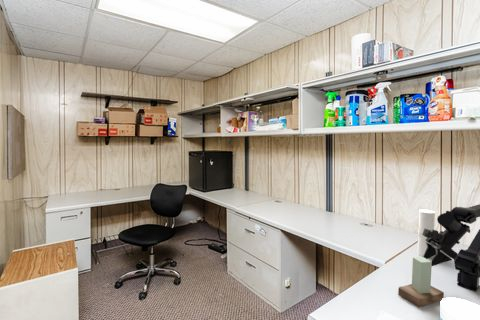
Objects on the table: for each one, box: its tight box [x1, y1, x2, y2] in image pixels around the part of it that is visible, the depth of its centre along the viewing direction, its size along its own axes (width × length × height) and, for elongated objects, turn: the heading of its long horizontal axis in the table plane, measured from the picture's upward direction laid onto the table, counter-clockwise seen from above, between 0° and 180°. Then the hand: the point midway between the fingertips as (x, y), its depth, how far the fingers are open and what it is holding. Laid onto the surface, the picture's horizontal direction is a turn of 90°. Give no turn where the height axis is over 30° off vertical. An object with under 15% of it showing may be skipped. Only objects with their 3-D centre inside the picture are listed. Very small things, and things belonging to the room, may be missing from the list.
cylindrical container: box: [416, 209, 436, 258], centre depth 146 cm, size 7×7×25 cm
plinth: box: [397, 283, 445, 308], centre depth 108 cm, size 14×9×3 cm, turn 110°
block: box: [411, 256, 433, 293], centre depth 107 cm, size 4×4×13 cm
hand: (426, 262), depth 112 cm, fingers open, 9 cm apart
